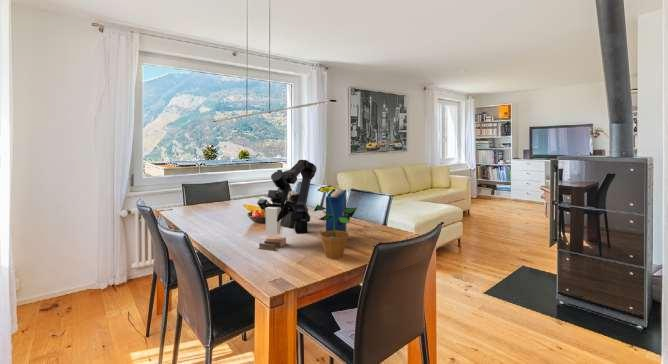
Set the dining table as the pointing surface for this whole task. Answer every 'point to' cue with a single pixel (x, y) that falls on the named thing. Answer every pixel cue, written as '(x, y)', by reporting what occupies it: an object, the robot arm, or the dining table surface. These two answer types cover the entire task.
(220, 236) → the dining table surface
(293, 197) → the owl
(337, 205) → the book
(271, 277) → the dining table surface
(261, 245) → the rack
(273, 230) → the tall white pillar
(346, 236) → the potted plant
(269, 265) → the dining table surface
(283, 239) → the offcut top
